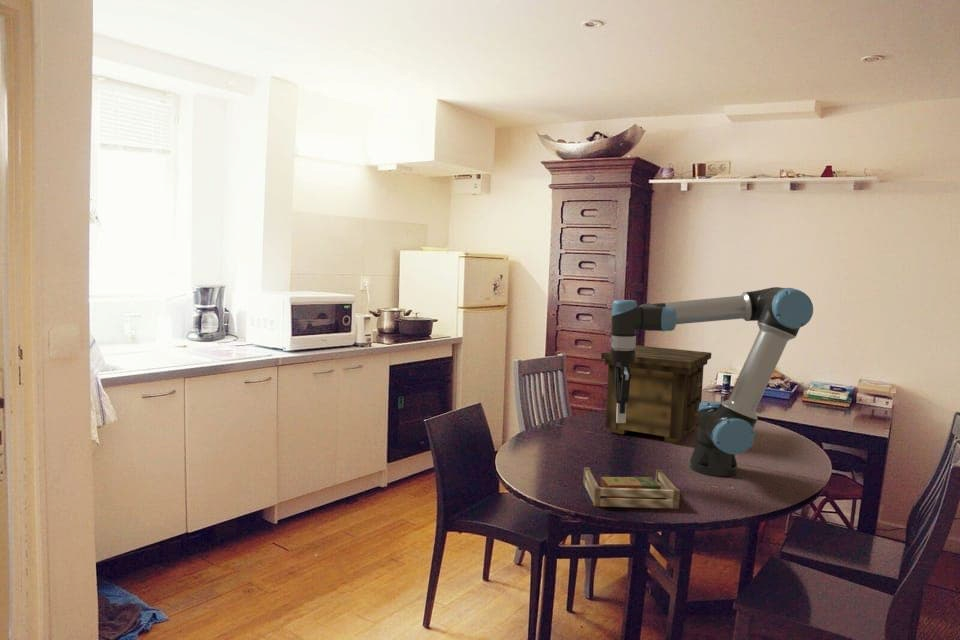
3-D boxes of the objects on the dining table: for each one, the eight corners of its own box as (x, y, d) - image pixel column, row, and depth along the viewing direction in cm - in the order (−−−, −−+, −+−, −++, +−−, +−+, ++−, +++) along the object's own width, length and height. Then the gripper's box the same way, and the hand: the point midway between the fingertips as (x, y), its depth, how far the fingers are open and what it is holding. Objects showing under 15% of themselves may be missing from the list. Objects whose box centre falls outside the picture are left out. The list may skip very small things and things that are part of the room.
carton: (599, 489, 193) (600, 475, 192) (650, 489, 194) (651, 475, 194) (607, 499, 184) (608, 485, 184) (661, 499, 186) (661, 485, 186)
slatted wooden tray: (660, 486, 196) (661, 469, 196) (678, 508, 178) (680, 490, 178) (583, 483, 196) (584, 467, 196) (594, 506, 178) (595, 488, 177)
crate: (626, 416, 286) (629, 344, 283) (706, 429, 268) (711, 352, 265) (597, 433, 257) (601, 352, 254) (685, 448, 238) (691, 362, 235)
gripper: (606, 346, 207) (604, 417, 209) (615, 351, 194) (613, 427, 196) (629, 346, 207) (627, 417, 209) (640, 351, 194) (638, 427, 196)
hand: (620, 422), depth 202 cm, fingers closed
